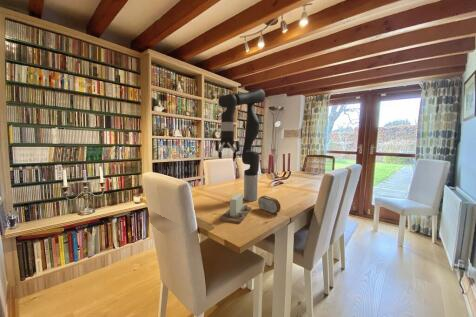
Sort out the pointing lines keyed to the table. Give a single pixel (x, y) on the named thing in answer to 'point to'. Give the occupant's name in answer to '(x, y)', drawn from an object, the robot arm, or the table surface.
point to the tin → (269, 204)
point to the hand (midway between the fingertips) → (227, 158)
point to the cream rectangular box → (236, 204)
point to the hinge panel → (238, 218)
